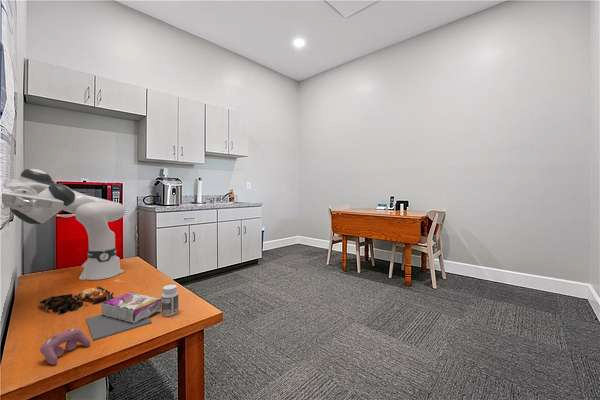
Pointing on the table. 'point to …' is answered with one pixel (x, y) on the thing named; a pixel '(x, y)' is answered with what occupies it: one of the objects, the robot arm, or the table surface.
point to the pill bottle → (169, 300)
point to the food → (75, 300)
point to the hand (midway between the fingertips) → (28, 203)
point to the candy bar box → (131, 307)
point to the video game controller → (70, 337)
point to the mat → (111, 326)
